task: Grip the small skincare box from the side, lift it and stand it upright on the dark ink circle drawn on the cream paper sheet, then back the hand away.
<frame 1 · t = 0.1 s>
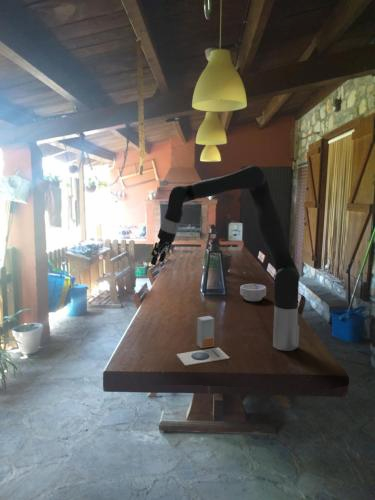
hand: (157, 263, 164), 31 cm above the table, tool tilted 20°, fingers open, 8 cm apart
paper sheet: (202, 356, 141), on the table
paper bowls: (252, 299, 218), on the table
skincare box: (205, 346, 151), on the table
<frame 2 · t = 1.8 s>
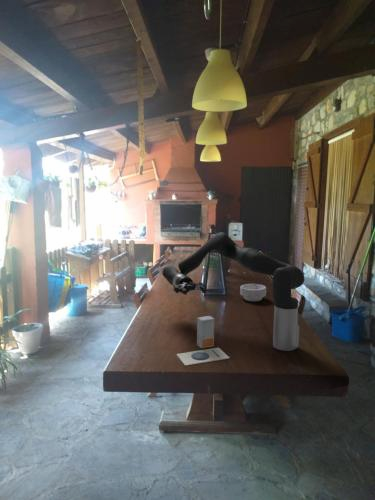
hand: (195, 291, 158), 20 cm above the table, tool horizontal, fingers open, 8 cm apart
nothing on the table moved.
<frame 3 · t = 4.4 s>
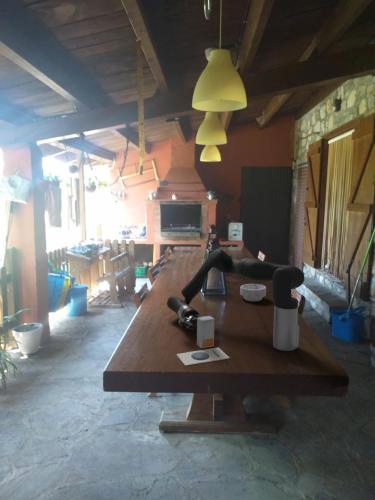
hand: (201, 326, 154), 7 cm above the table, tool horizontal, fingers open, 8 cm apart
nothing on the table moved.
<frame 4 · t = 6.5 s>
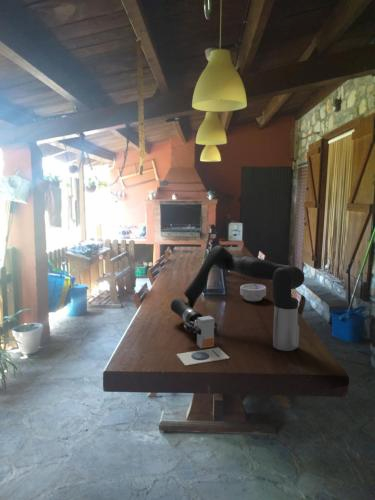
hand: (208, 331, 148), 7 cm above the table, tool horizontal, fingers closed on skincare box, 6 cm apart
skincare box: (205, 346, 151), on the table, touching gripper
everything else where it was.
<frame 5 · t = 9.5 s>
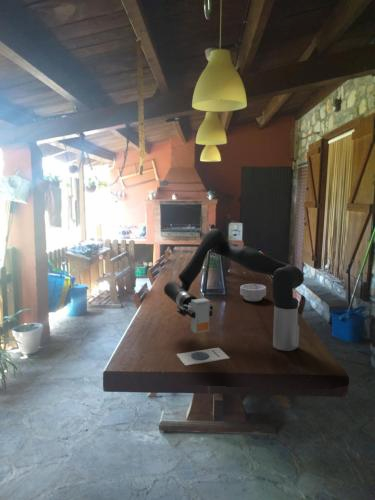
hand: (202, 314, 136), 18 cm above the table, tool horizontal, fingers closed on skincare box, 6 cm apart
skincare box: (200, 331, 139), point 10 cm above the table, touching gripper
everything else where it was.
when the fingers open (8 cm above the table, at t = 12.5 s): skincare box drops 1 cm, resting on paper sheet.
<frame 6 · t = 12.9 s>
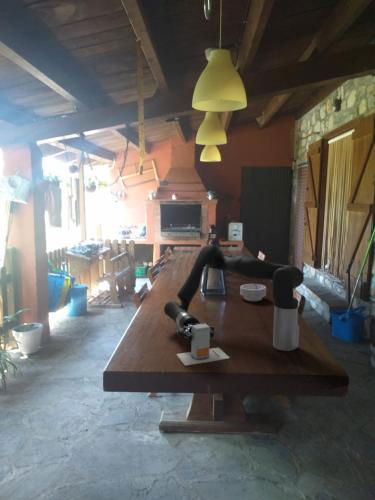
hand: (202, 336, 138), 9 cm above the table, tool horizontal, fingers open, 8 cm apart
skincare box: (200, 356, 141), resting on paper sheet
everything else where it was.
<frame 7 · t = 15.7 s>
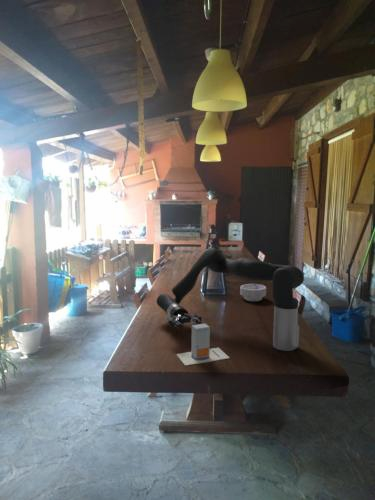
hand: (190, 325, 150), 9 cm above the table, tool horizontal, fingers open, 8 cm apart
nothing on the table moved.
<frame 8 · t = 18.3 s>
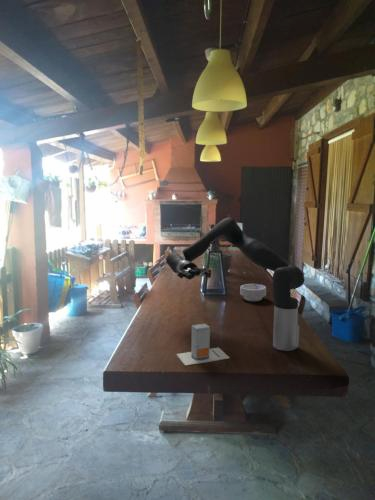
hand: (200, 276, 153), 28 cm above the table, tool horizontal, fingers open, 8 cm apart
nothing on the table moved.
at the end: skincare box 0.1 cm from the target spot on the paper sheet, point 0.2 cm above the paper sheet's base; skincare box tilted 0°; the gripper is holding nothing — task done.
